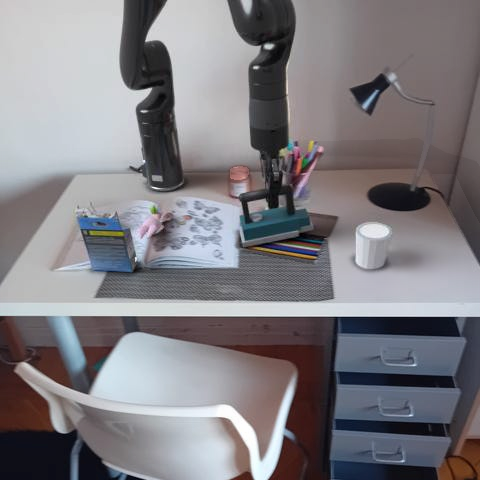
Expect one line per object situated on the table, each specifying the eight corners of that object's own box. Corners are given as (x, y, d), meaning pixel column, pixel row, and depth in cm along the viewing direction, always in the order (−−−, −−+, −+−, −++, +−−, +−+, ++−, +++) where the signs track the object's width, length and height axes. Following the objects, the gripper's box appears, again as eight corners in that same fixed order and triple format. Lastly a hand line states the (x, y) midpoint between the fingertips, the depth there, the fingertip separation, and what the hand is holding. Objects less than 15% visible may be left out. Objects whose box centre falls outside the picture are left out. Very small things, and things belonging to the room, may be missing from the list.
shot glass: (375, 248, 103) (379, 218, 98) (394, 265, 98) (400, 234, 93) (345, 256, 101) (348, 226, 97) (364, 274, 96) (368, 243, 92)
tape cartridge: (139, 262, 104) (127, 208, 96) (132, 273, 101) (119, 218, 93) (99, 260, 105) (83, 207, 97) (91, 270, 102) (75, 216, 94)
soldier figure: (96, 213, 123) (130, 207, 117) (93, 232, 123) (128, 227, 116) (69, 202, 117) (104, 195, 110) (67, 222, 116) (101, 216, 110)
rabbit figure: (150, 221, 120) (131, 245, 107) (147, 196, 117) (126, 218, 104) (176, 221, 119) (159, 246, 106) (173, 196, 116) (156, 219, 103)
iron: (243, 247, 106) (235, 203, 99) (239, 231, 111) (231, 187, 104) (314, 232, 106) (311, 187, 99) (307, 216, 111) (303, 172, 104)
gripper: (244, 110, 98) (249, 192, 109) (254, 135, 88) (259, 223, 99) (282, 106, 98) (283, 188, 110) (296, 130, 88) (296, 218, 99)
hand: (272, 204), depth 104 cm, fingers closed on iron, 2 cm apart
